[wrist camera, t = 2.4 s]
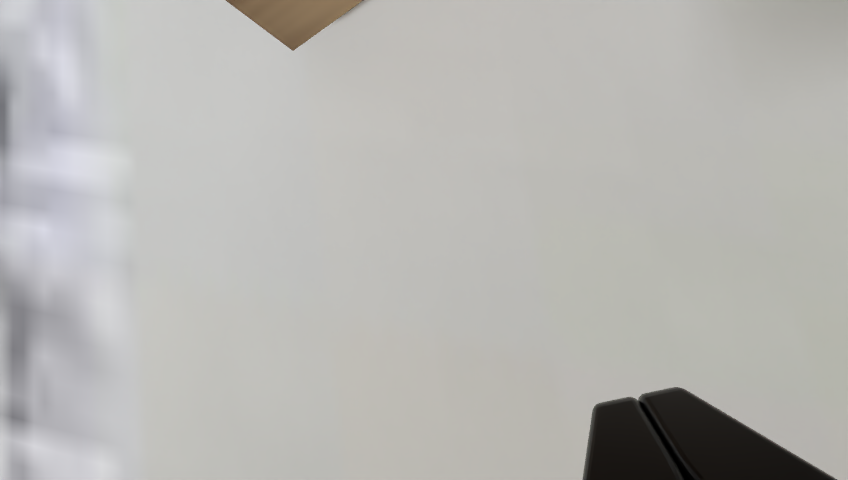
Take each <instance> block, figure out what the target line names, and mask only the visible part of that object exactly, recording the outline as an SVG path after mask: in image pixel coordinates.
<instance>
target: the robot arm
mask: <svg viewBox="0 0 848 480" xmlns="http://www.w3.org/2000/svg"><path fill="white" fill-rule="evenodd" d="M583 480H837V479H835V478H833V477H832V476H830V475H828V474H827V473H825V472H823V471H822V470H820V469H818V468H817V467H815V466H813V465H812V464H810V463H808V462H806V461H805V460H803V459H801V458H800V457H798V456H796V455H795V454H793V453H791V452H790V451H788V450H786V449H785V448H783V447H781V446H779V445H778V444H776V443H774V442H773V441H771V440H769V439H768V438H766V437H764V436H763V435H761V434H759V433H758V432H756V431H754V430H753V429H751V428H749V427H747V426H746V425H744V424H742V423H741V422H739V421H737V420H736V419H734V418H732V417H731V416H729V415H727V414H726V413H724V412H722V411H720V410H719V409H717V408H715V407H714V406H712V405H710V404H709V403H707V402H705V401H704V400H702V399H700V398H699V397H697V396H695V395H694V394H692V393H690V392H688V391H687V390H685V389H683V388H679V387H673V388H669V389H664V390H659V391H654V392H650V393H645V394H642V395H641V396H640V397H639V399H638V401H637V400H636V399H635V398H632V397H626V398H621V399H617V400H612V401H607V402H602V403H599V404H597V405H595V406H594V408H593V412H592V418H591V425H590V432H589V439H588V446H587V453H586V460H585V467H584V474H583Z"/></svg>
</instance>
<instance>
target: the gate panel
mask: <svg viewBox="0 0 848 480" xmlns="http://www.w3.org/2000/svg"><path fill="white" fill-rule="evenodd" d="M226 1H227V2H229V3H230V4H231V5H233V6H234V7H235V8H237V9H238V10H239V11H241V12H242V13H243V14H245V15H246V16H247V17H249V18H250V19H251V20H253V21H254V22H255V23H257V24H258V25H259V26H261V27H262V28H263V29H265V30H266V31H267V32H269V33H270V34H271V35H273V36H274V37H275V38H277V39H278V40H279V41H281V42H282V43H283V44H285V45H286V46H287V47H289V48H290V49H291V50H295V49H296V48H297V47H299V46H300V45H302V44H303V43H304V42H306V41H307V40H309V39H310V38H311V37H313V36H314V35H316V34H317V33H318V32H320V31H321V30H322V29H324V28H325V27H327V26H328V25H329V24H331V23H332V22H334V21H335V20H336V19H338V18H339V17H341V16H342V15H343V14H345V13H346V12H348V11H349V10H350V9H352V8H353V7H354V6H356V5H357V4H359V3H360V2H361V1H363V0H226Z"/></svg>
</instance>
